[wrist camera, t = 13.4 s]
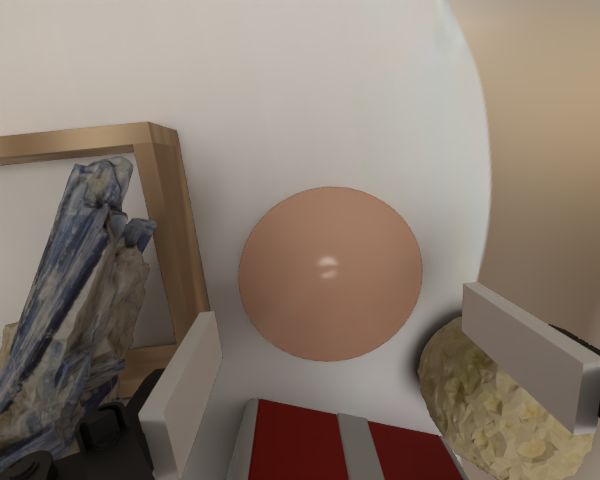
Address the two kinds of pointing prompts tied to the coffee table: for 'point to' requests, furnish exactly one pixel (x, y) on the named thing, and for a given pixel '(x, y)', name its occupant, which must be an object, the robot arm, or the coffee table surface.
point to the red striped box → (334, 448)
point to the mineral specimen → (74, 316)
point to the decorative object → (493, 413)
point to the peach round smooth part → (330, 274)
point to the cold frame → (161, 208)
